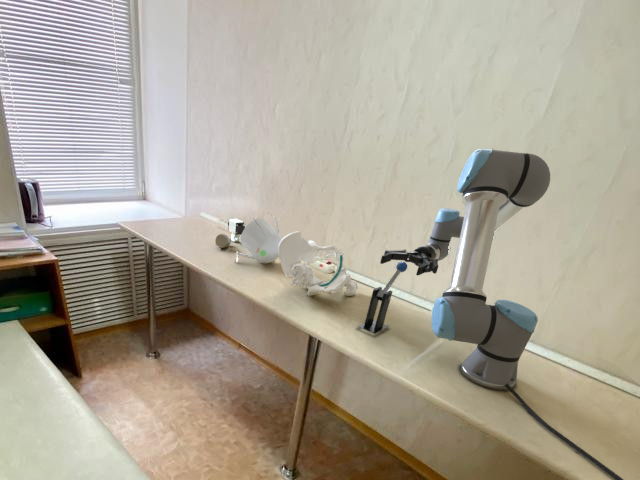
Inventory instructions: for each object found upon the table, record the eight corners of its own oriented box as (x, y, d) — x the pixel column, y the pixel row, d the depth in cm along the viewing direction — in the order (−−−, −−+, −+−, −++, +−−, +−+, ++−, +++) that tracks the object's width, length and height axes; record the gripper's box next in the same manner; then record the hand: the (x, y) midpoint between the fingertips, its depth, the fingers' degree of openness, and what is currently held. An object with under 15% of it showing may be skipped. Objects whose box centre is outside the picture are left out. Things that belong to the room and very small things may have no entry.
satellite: (270, 236, 179) (305, 233, 196) (243, 208, 185) (279, 208, 202) (249, 277, 194) (283, 271, 211) (224, 250, 200) (259, 246, 217)
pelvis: (384, 263, 168) (350, 286, 149) (352, 301, 185) (318, 326, 166) (322, 207, 174) (282, 223, 155) (297, 250, 191) (258, 268, 172)
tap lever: (400, 264, 147) (399, 258, 144) (409, 267, 145) (409, 261, 142) (375, 299, 144) (374, 293, 141) (384, 303, 142) (383, 297, 139)
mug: (234, 245, 222) (235, 231, 213) (224, 256, 217) (224, 243, 209) (222, 239, 223) (223, 225, 214) (212, 250, 219) (212, 236, 210)
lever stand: (371, 321, 154) (381, 284, 146) (388, 328, 150) (399, 290, 143) (356, 329, 148) (366, 290, 140) (374, 336, 144) (385, 297, 136)
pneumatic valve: (236, 244, 223) (237, 221, 217) (226, 238, 231) (227, 215, 225) (245, 243, 226) (247, 221, 219) (235, 237, 234) (236, 215, 227)
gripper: (454, 274, 151) (430, 287, 138) (392, 256, 165) (365, 265, 151) (462, 254, 147) (438, 265, 134) (398, 237, 161) (370, 245, 147)
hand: (399, 265), depth 142 cm, fingers open, 13 cm apart
